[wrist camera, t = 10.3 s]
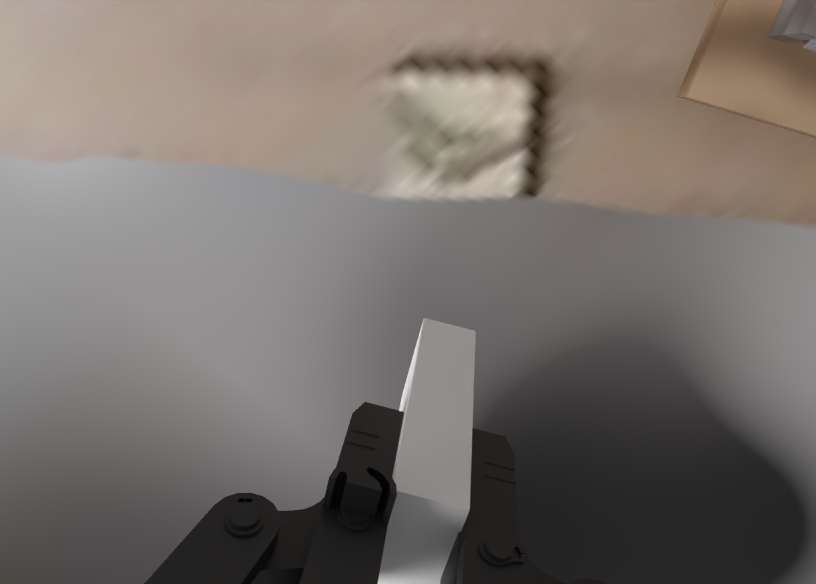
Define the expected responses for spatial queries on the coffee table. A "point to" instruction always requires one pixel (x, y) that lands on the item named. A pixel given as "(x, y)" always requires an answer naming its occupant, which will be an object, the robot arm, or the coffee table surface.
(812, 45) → the lever
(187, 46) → the coffee table surface
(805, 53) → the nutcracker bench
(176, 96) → the coffee table surface
